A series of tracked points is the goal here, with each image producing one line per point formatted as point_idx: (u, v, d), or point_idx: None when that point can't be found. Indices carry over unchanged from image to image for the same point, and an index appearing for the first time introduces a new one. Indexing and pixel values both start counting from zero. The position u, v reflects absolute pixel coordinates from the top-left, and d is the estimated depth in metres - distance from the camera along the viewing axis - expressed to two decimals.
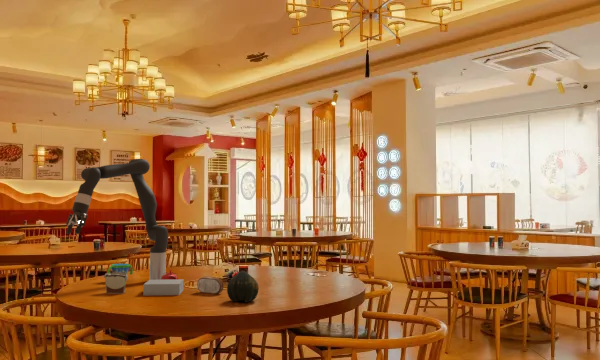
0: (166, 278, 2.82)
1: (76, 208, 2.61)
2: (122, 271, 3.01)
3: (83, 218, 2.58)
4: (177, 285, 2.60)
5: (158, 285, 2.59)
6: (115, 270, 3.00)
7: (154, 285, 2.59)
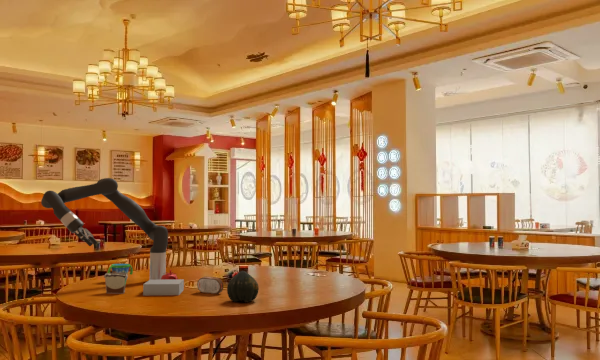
0: (166, 278, 2.82)
1: (71, 231, 2.63)
2: (122, 271, 3.01)
3: (78, 235, 2.59)
4: (177, 285, 2.60)
5: (158, 285, 2.59)
6: (115, 270, 3.00)
7: (154, 285, 2.59)
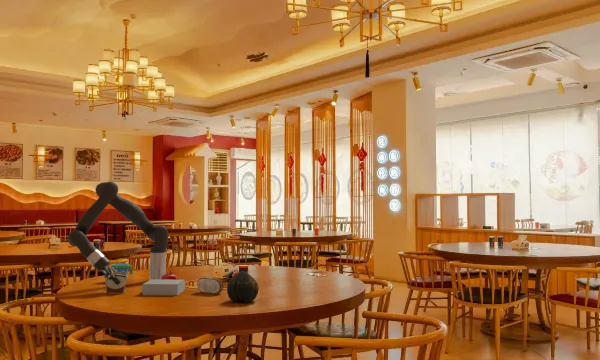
0: (166, 278, 2.82)
1: None
2: (122, 271, 3.01)
3: (106, 274, 2.60)
4: (175, 285, 2.59)
5: (157, 285, 2.59)
6: None
7: (153, 285, 2.59)
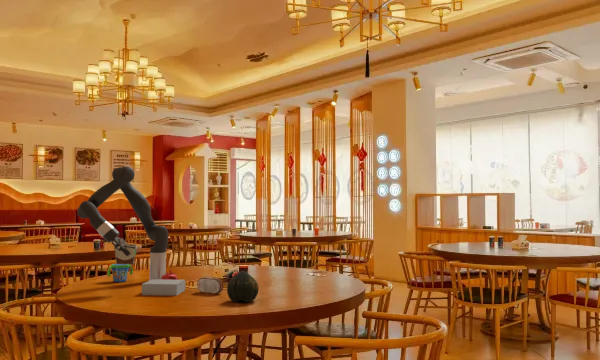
0: (166, 278, 2.82)
1: (107, 241, 2.65)
2: (122, 271, 3.01)
3: (116, 245, 2.61)
4: (174, 285, 2.59)
5: (156, 285, 2.59)
6: (115, 270, 3.00)
7: (152, 285, 2.59)
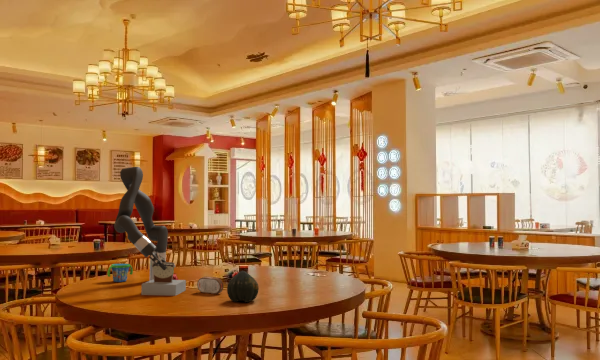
0: None
1: (145, 255, 2.65)
2: (122, 271, 3.01)
3: (153, 259, 2.61)
4: (173, 286, 2.59)
5: (155, 285, 2.59)
6: (115, 270, 3.00)
7: (151, 285, 2.60)
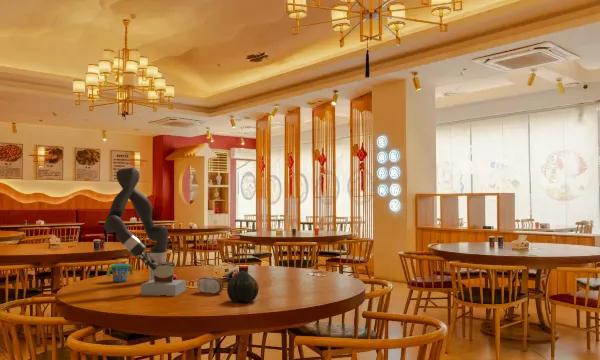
0: None
1: (134, 255, 2.64)
2: (122, 271, 3.01)
3: (142, 259, 2.60)
4: (173, 286, 2.58)
5: (155, 285, 2.59)
6: (115, 270, 3.00)
7: (151, 285, 2.59)
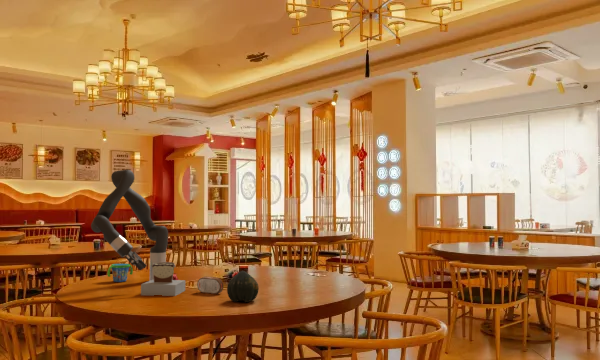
0: None
1: (121, 255, 2.64)
2: (122, 271, 3.01)
3: (129, 259, 2.59)
4: (173, 286, 2.58)
5: (155, 285, 2.59)
6: (115, 270, 3.00)
7: (151, 285, 2.59)
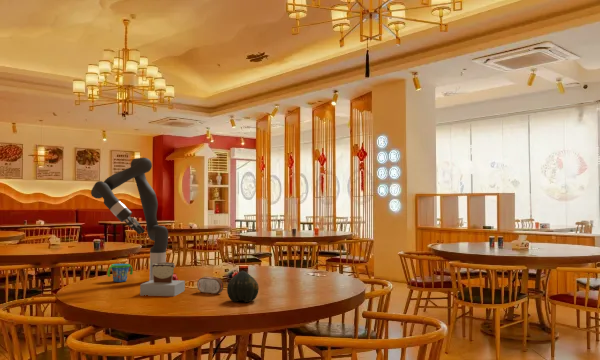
0: None
1: (120, 220, 2.74)
2: (122, 271, 3.01)
3: (128, 223, 2.70)
4: (172, 286, 2.57)
5: (154, 286, 2.58)
6: (115, 270, 3.00)
7: (150, 286, 2.58)
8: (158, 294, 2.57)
